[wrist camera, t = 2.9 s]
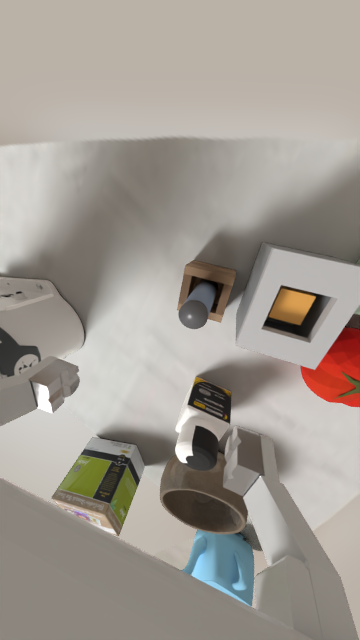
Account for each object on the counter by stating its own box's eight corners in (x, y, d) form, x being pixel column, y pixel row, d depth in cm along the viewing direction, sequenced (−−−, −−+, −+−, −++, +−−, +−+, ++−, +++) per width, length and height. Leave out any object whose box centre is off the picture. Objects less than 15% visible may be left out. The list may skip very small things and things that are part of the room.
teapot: (253, 527, 52) (257, 612, 41) (252, 553, 59) (255, 633, 47) (189, 508, 58) (177, 578, 46) (195, 533, 64) (185, 600, 53)
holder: (185, 299, 29) (177, 310, 25) (193, 260, 27) (185, 265, 23) (223, 309, 28) (220, 322, 24) (235, 270, 26) (235, 277, 22)
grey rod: (196, 294, 27) (176, 324, 19) (200, 275, 26) (181, 298, 17) (214, 299, 27) (203, 332, 18) (220, 280, 26) (210, 306, 17)
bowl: (252, 486, 45) (255, 548, 36) (183, 476, 51) (171, 526, 43) (238, 436, 39) (238, 496, 30) (162, 432, 45) (144, 480, 37)
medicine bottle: (232, 391, 34) (229, 461, 24) (217, 414, 38) (209, 484, 27) (195, 375, 35) (177, 436, 25) (184, 399, 39) (164, 461, 28)
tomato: (398, 351, 24) (466, 403, 17) (319, 385, 29) (345, 437, 22) (352, 301, 23) (404, 333, 16) (279, 345, 28) (293, 385, 21)
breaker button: (265, 308, 22) (268, 316, 20) (276, 282, 21) (281, 288, 18) (294, 315, 22) (300, 325, 19) (307, 289, 20) (316, 296, 18)
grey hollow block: (236, 313, 28) (235, 345, 20) (262, 242, 23) (273, 248, 16) (292, 328, 27) (314, 369, 19) (331, 256, 22) (382, 271, 14)
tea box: (103, 456, 59) (66, 519, 46) (92, 435, 55) (48, 497, 43) (146, 466, 55) (118, 539, 42) (137, 443, 51) (103, 516, 38)
